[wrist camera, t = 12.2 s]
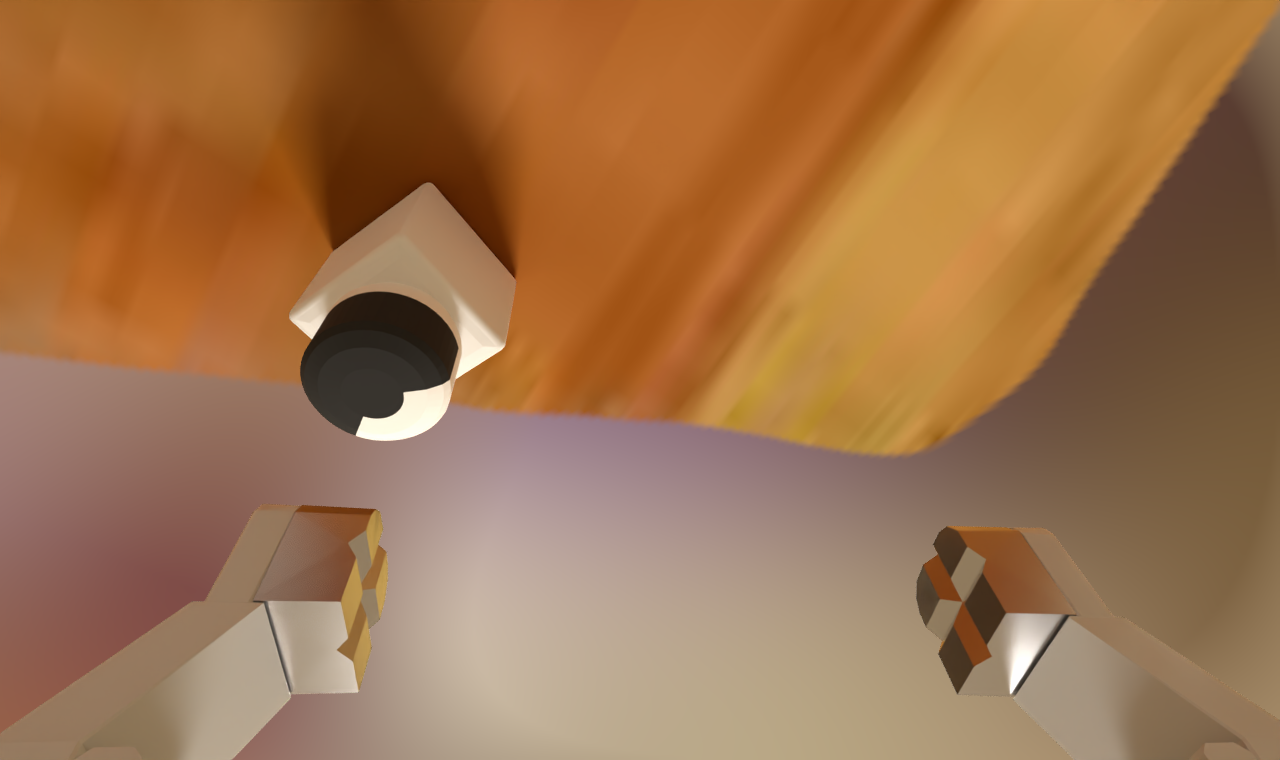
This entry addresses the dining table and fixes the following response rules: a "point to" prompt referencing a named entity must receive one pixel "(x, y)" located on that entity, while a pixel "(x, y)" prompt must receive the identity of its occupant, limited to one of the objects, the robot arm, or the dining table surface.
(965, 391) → the dining table surface
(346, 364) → the medicine bottle
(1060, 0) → the dining table surface
